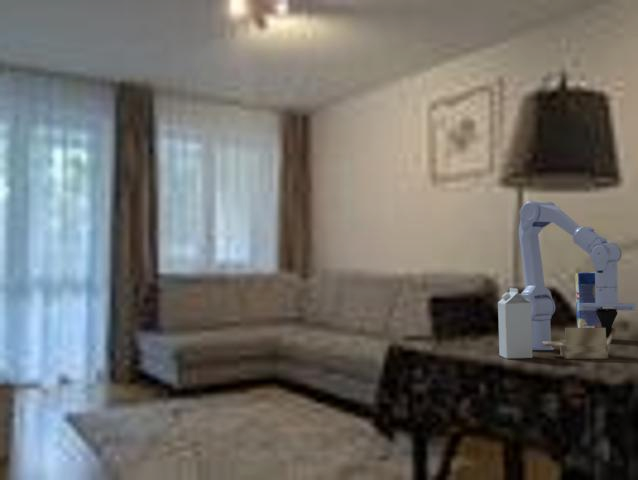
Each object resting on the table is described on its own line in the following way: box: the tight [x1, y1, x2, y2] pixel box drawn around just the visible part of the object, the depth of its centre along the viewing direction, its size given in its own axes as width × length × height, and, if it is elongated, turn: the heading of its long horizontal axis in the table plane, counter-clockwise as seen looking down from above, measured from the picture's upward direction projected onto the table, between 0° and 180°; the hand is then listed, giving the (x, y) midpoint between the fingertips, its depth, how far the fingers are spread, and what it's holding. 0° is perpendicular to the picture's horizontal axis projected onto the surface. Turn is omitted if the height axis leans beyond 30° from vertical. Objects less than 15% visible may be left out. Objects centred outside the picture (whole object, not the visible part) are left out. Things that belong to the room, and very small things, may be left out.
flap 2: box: [606, 327, 617, 346], centre depth 192 cm, size 4×7×1 cm
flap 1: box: [564, 327, 607, 345], centre depth 189 cm, size 10×4×1 cm
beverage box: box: [574, 271, 603, 328], centre depth 233 cm, size 7×11×22 cm, turn 166°
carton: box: [542, 338, 609, 360], centre depth 196 cm, size 16×13×4 cm
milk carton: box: [497, 287, 533, 360], centre depth 196 cm, size 7×7×19 cm
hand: (607, 337), depth 193 cm, fingers closed, pressing on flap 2
